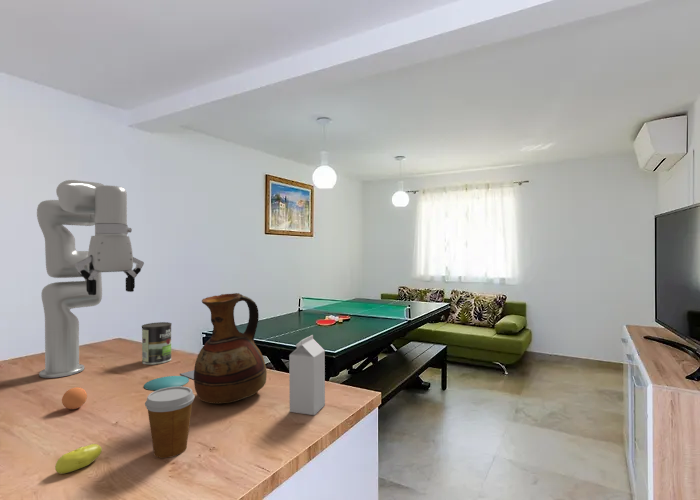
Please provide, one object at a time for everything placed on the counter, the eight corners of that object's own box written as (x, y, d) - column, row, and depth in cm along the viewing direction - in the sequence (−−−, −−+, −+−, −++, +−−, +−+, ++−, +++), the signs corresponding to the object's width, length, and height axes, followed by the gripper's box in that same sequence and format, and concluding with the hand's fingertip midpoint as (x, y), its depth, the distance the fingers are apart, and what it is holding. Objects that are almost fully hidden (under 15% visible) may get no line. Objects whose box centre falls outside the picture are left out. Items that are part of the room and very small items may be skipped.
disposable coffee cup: (156, 440, 86) (156, 386, 86) (200, 438, 86) (200, 384, 86) (136, 463, 76) (136, 403, 76) (186, 461, 77) (185, 401, 77)
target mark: (136, 384, 122) (136, 383, 122) (176, 373, 132) (176, 373, 132) (155, 393, 114) (155, 392, 114) (196, 381, 124) (196, 381, 124)
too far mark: (180, 374, 132) (180, 373, 132) (206, 367, 139) (206, 366, 139) (195, 380, 125) (195, 379, 125) (222, 372, 133) (222, 372, 133)
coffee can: (177, 358, 152) (177, 322, 152) (159, 365, 142) (159, 327, 142) (154, 356, 154) (154, 321, 154) (135, 364, 144) (135, 326, 144)
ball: (58, 409, 103) (58, 388, 103) (82, 402, 107) (82, 383, 107) (65, 414, 99) (65, 393, 99) (90, 407, 104) (90, 387, 104)
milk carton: (325, 405, 104) (324, 335, 105) (314, 416, 98) (313, 341, 98) (301, 402, 107) (301, 333, 107) (289, 412, 100) (289, 339, 100)
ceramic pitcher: (182, 397, 111) (181, 293, 111) (243, 379, 126) (243, 288, 126) (215, 417, 98) (215, 299, 98) (280, 395, 112) (279, 292, 112)
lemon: (51, 473, 73) (51, 453, 73) (97, 455, 80) (97, 436, 80) (59, 481, 71) (59, 459, 71) (106, 461, 77) (106, 442, 77)
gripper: (136, 232, 116) (136, 289, 115) (69, 230, 101) (69, 295, 101) (149, 231, 111) (149, 290, 111) (81, 229, 97) (82, 297, 97)
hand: (111, 293), depth 106 cm, fingers open, 9 cm apart
